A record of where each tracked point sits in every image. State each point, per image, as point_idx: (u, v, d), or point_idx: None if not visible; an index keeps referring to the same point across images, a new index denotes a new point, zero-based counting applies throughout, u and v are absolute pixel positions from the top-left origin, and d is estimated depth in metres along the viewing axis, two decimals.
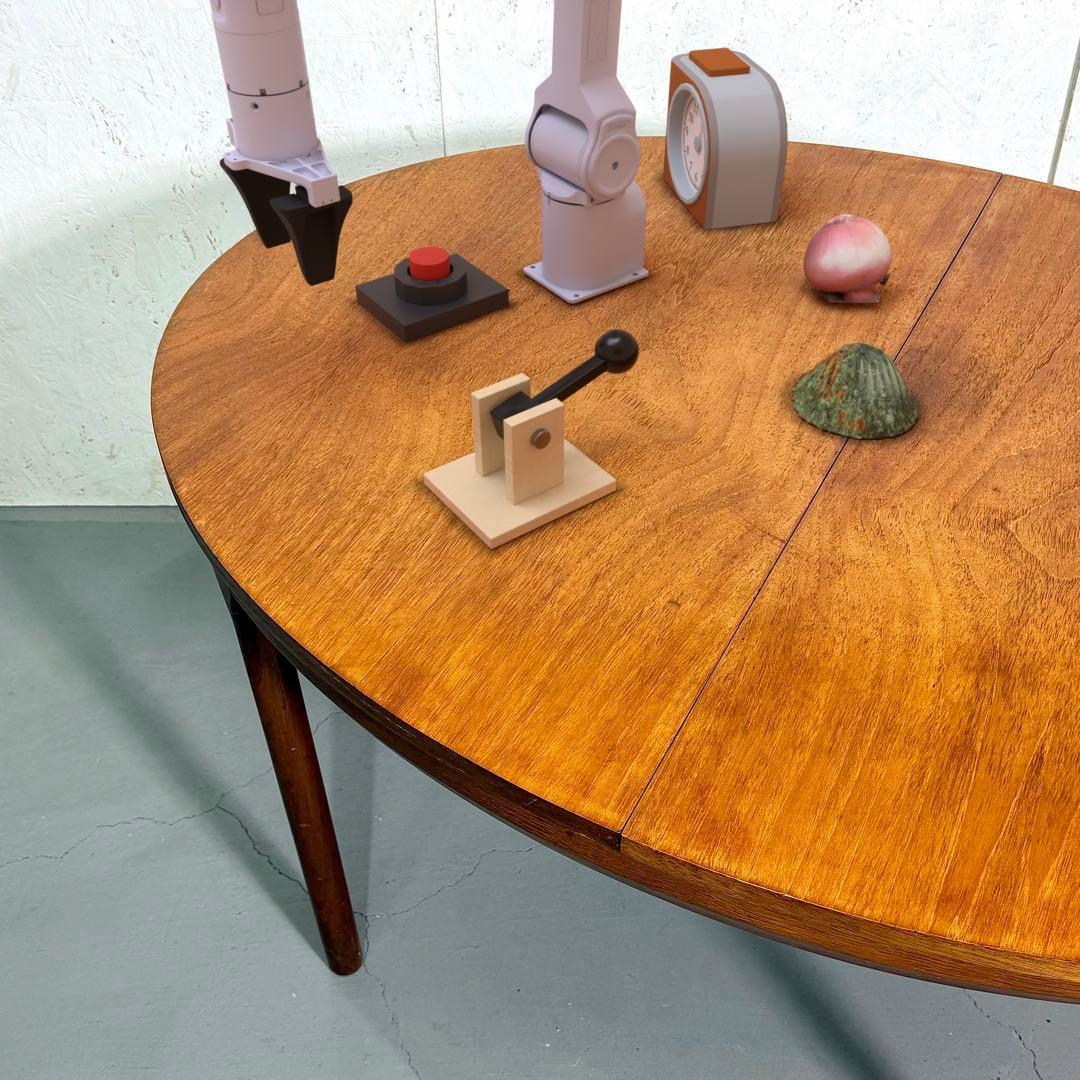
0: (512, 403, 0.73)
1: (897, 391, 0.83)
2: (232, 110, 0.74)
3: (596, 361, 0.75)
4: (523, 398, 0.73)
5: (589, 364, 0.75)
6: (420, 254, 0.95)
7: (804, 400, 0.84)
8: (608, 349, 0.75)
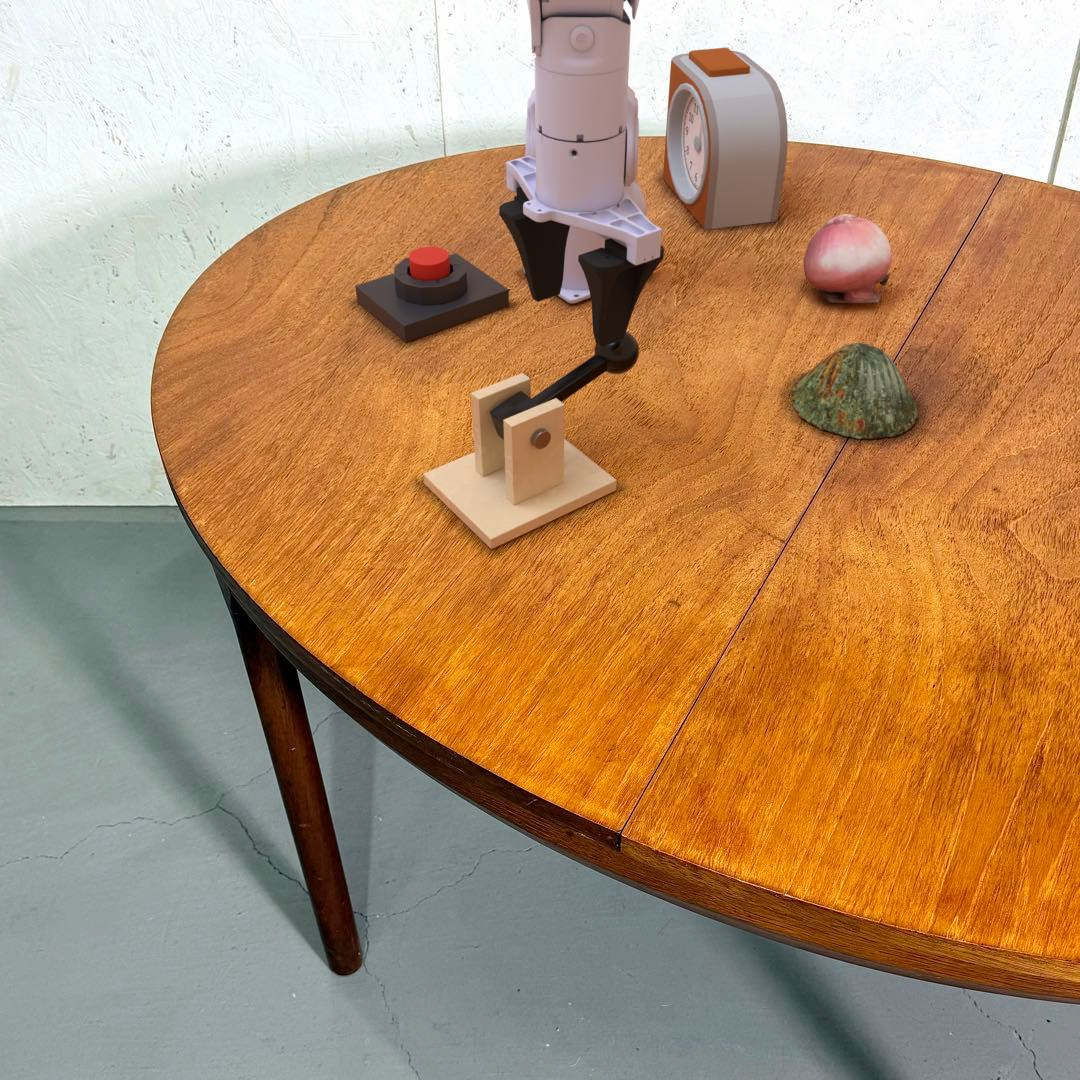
0: (512, 403, 0.73)
1: (897, 391, 0.83)
2: (542, 156, 0.66)
3: (596, 361, 0.75)
4: (523, 398, 0.73)
5: (589, 364, 0.75)
6: (420, 254, 0.95)
7: (804, 400, 0.84)
8: (608, 349, 0.75)
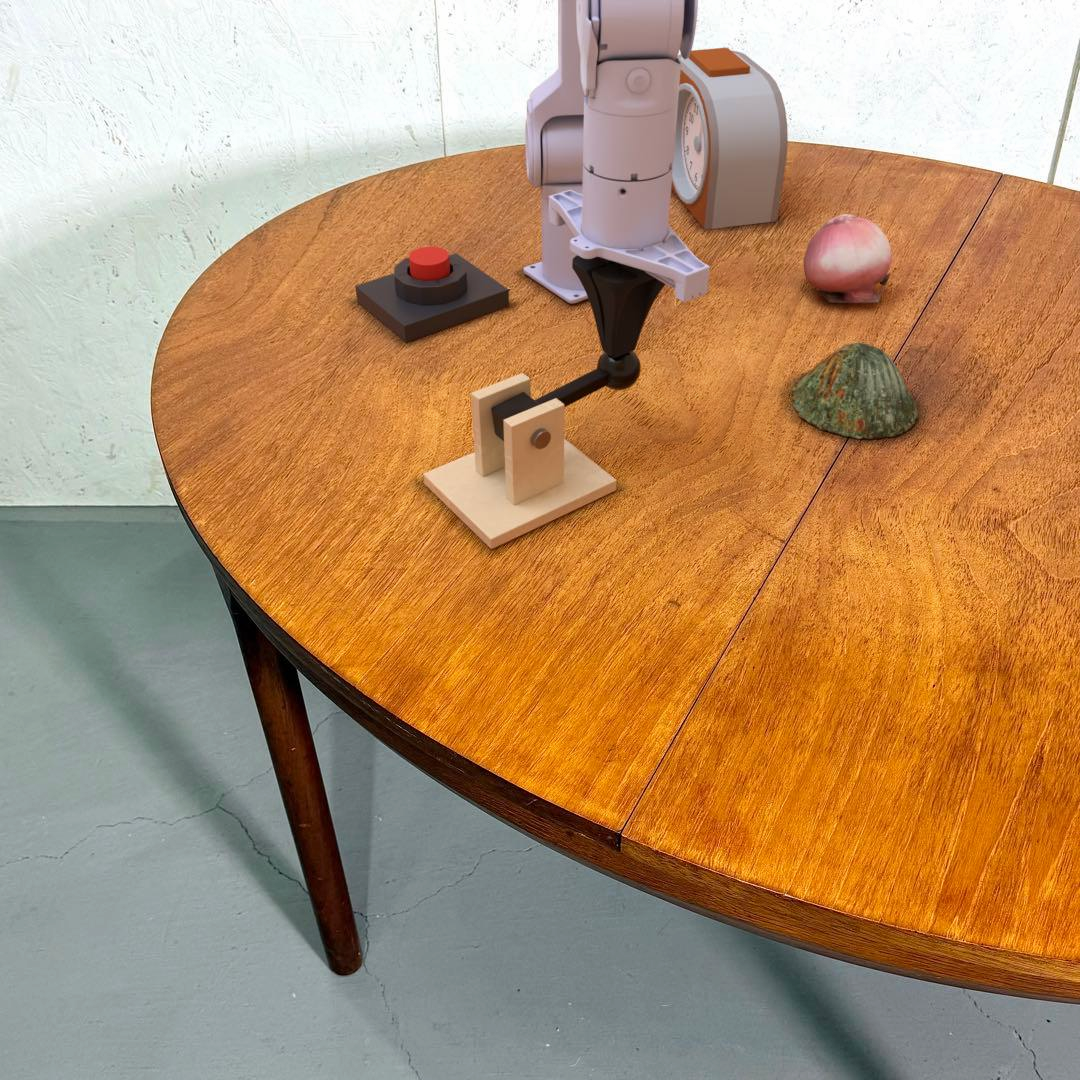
0: (515, 402, 0.73)
1: (897, 391, 0.83)
2: (590, 194, 0.67)
3: (599, 373, 0.76)
4: (526, 398, 0.74)
5: (592, 376, 0.76)
6: (420, 254, 0.95)
7: (804, 400, 0.84)
8: (612, 363, 0.76)
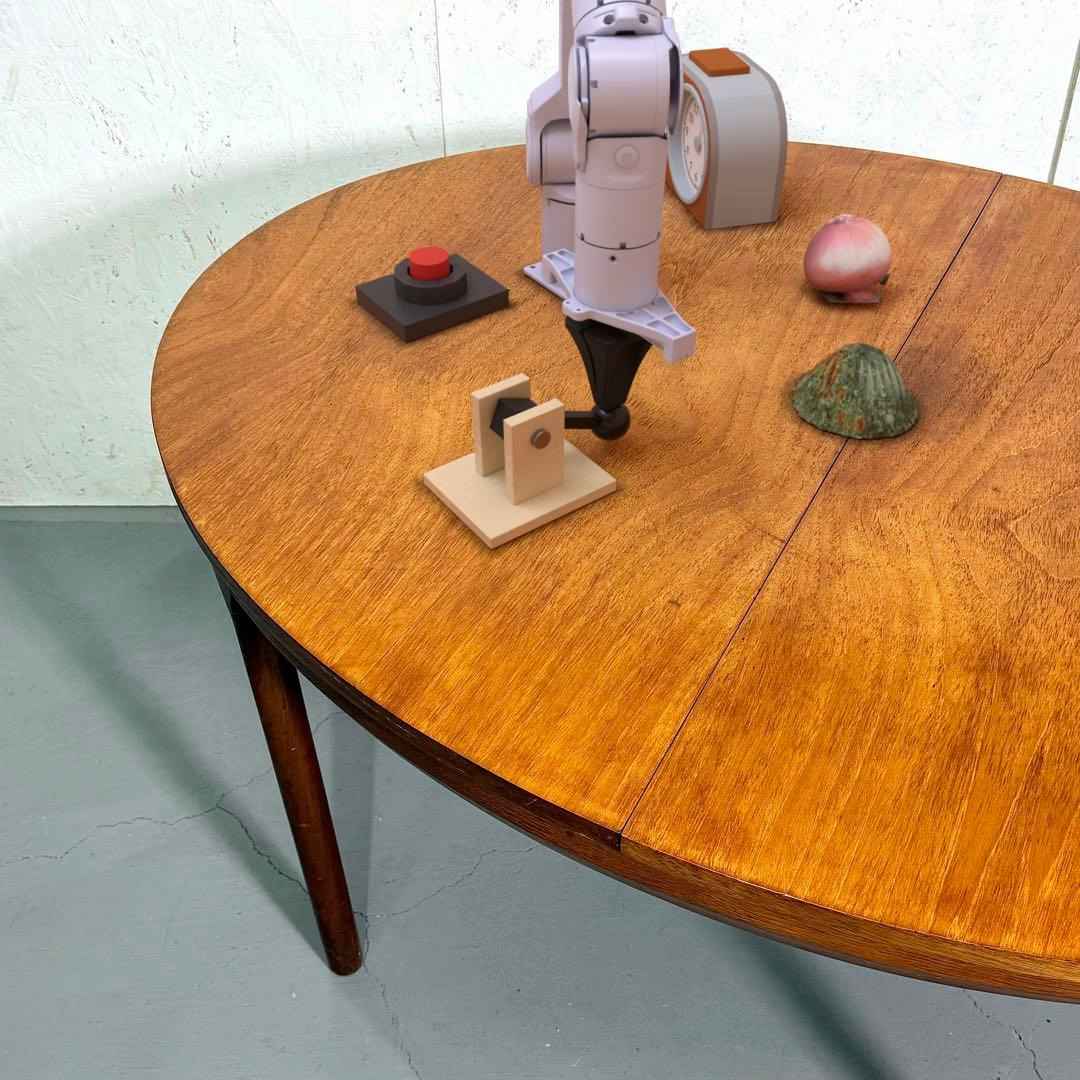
0: (521, 402, 0.74)
1: (897, 391, 0.83)
2: (581, 260, 0.70)
3: (595, 414, 0.78)
4: (532, 403, 0.74)
5: (588, 413, 0.78)
6: (420, 254, 0.95)
7: (804, 400, 0.84)
8: (610, 409, 0.78)
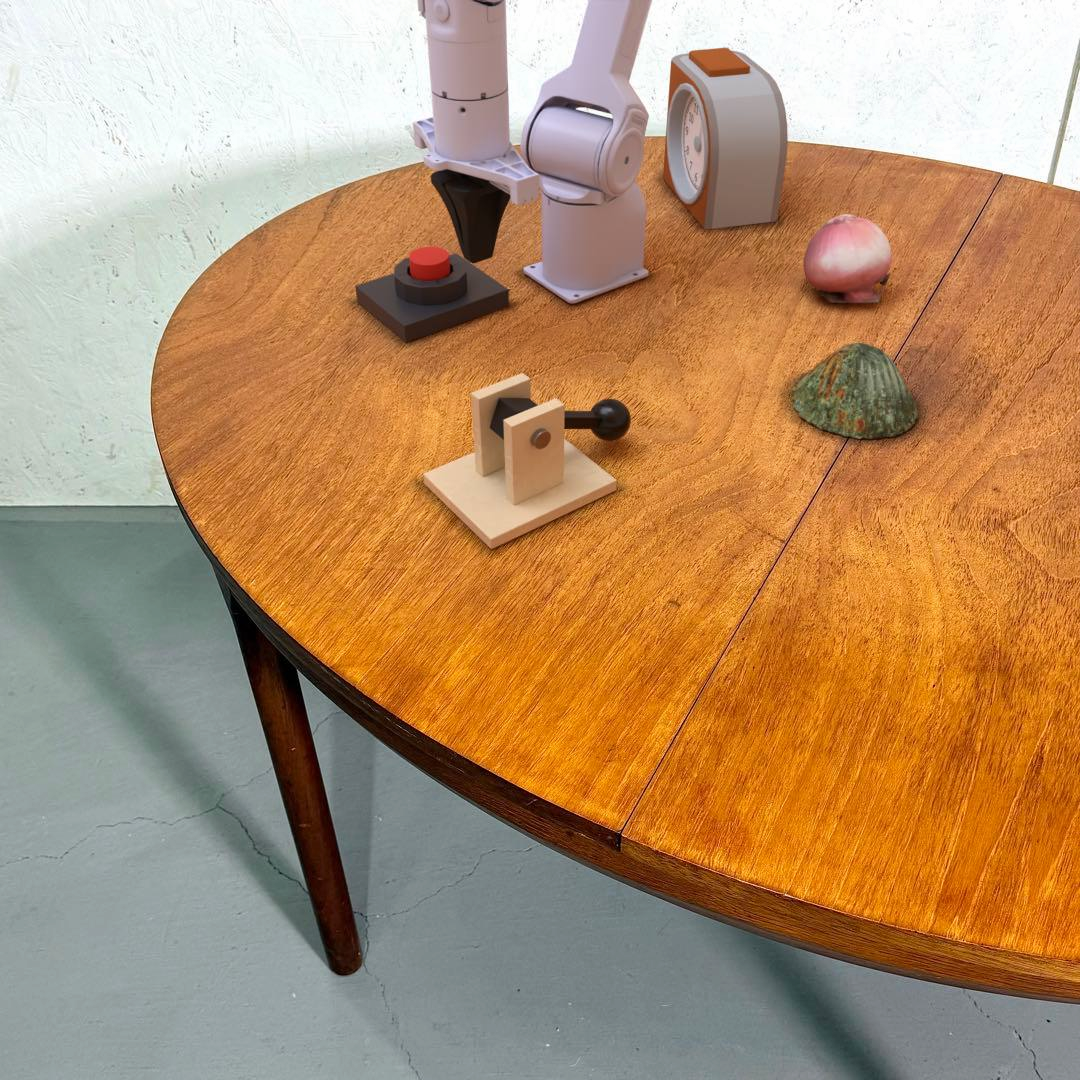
0: (521, 402, 0.74)
1: (897, 391, 0.83)
2: (437, 114, 0.78)
3: (594, 414, 0.78)
4: (532, 403, 0.74)
5: (588, 413, 0.78)
6: (420, 254, 0.95)
7: (804, 400, 0.84)
8: (610, 409, 0.78)
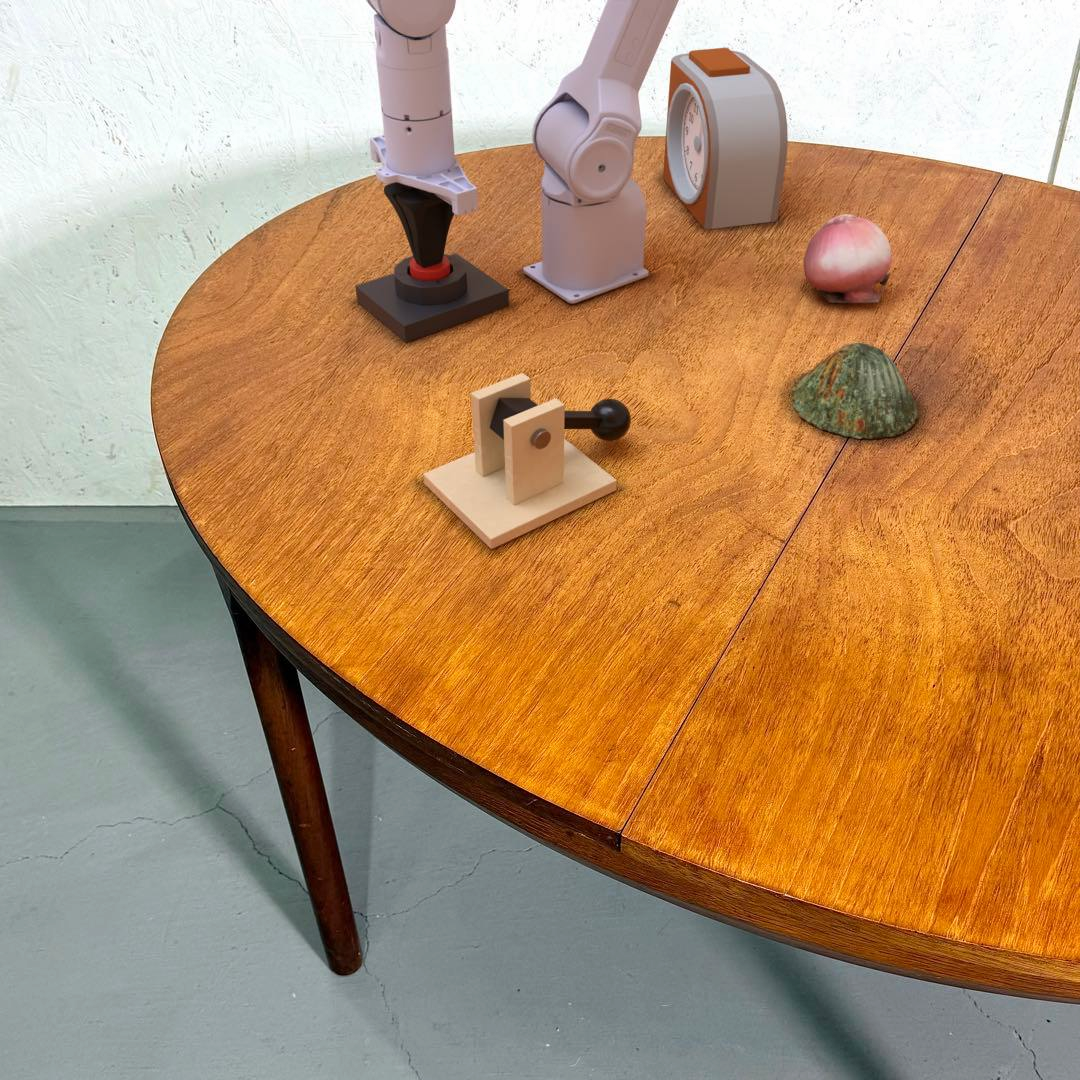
0: (521, 402, 0.74)
1: (897, 391, 0.83)
2: (387, 132, 0.86)
3: (594, 414, 0.78)
4: (532, 403, 0.74)
5: (588, 413, 0.78)
6: None
7: (804, 400, 0.84)
8: (610, 409, 0.78)
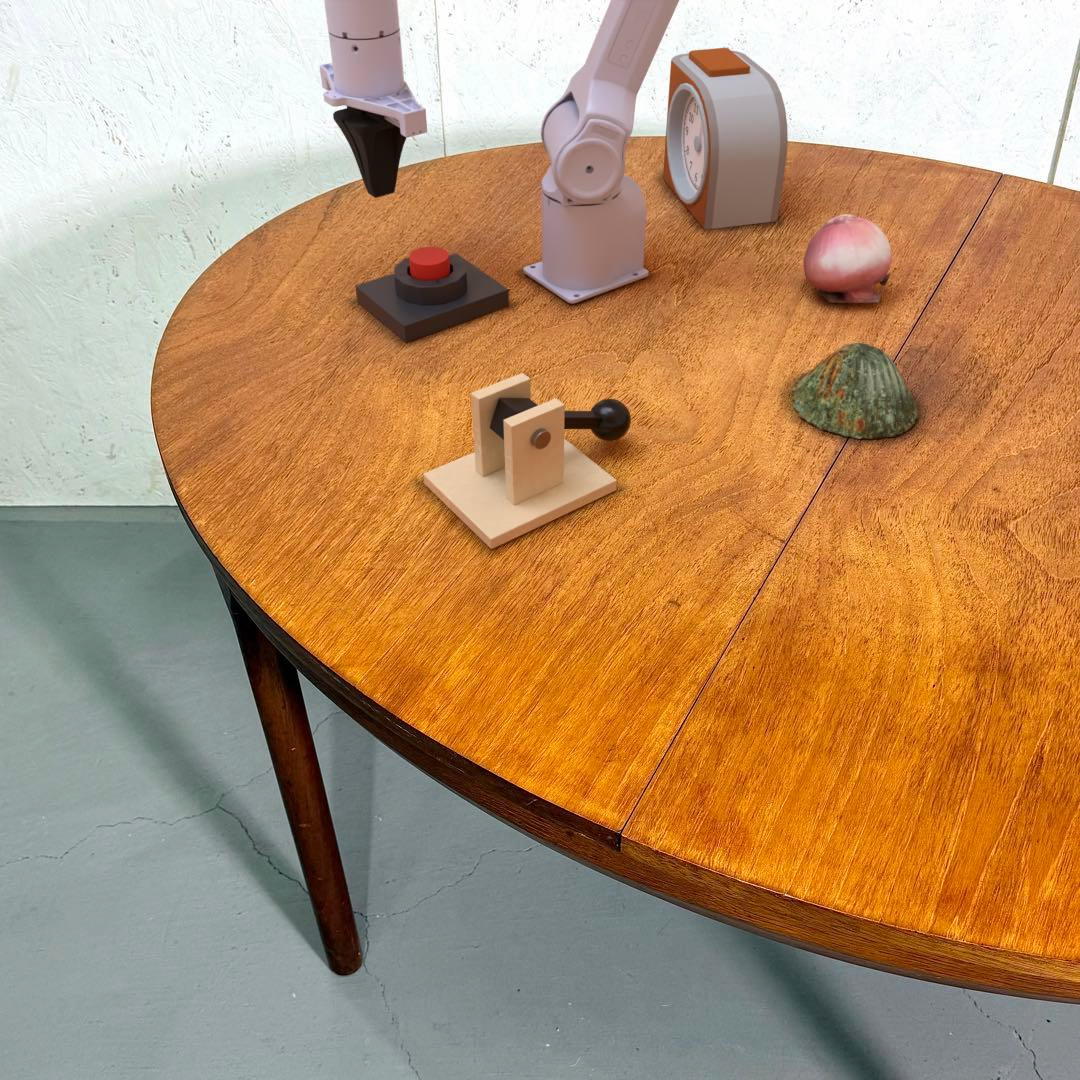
0: (521, 402, 0.74)
1: (897, 391, 0.83)
2: (333, 53, 0.85)
3: (594, 414, 0.78)
4: (532, 403, 0.74)
5: (588, 413, 0.78)
6: (420, 254, 0.95)
7: (804, 400, 0.84)
8: (610, 409, 0.78)
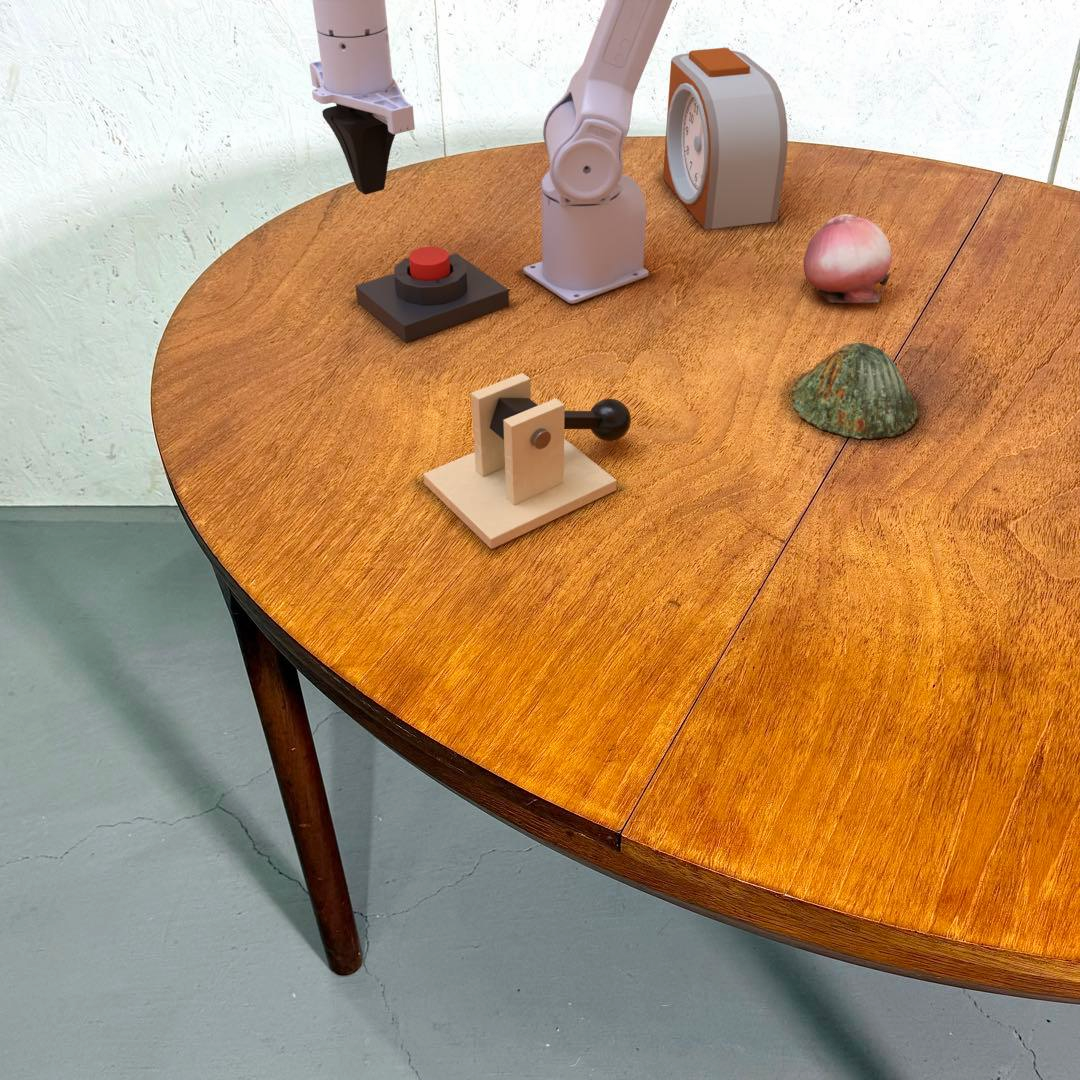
0: (521, 402, 0.74)
1: (897, 391, 0.83)
2: (322, 51, 0.86)
3: (594, 414, 0.78)
4: (532, 403, 0.74)
5: (588, 413, 0.78)
6: (420, 254, 0.95)
7: (804, 400, 0.84)
8: (610, 409, 0.78)
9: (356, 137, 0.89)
